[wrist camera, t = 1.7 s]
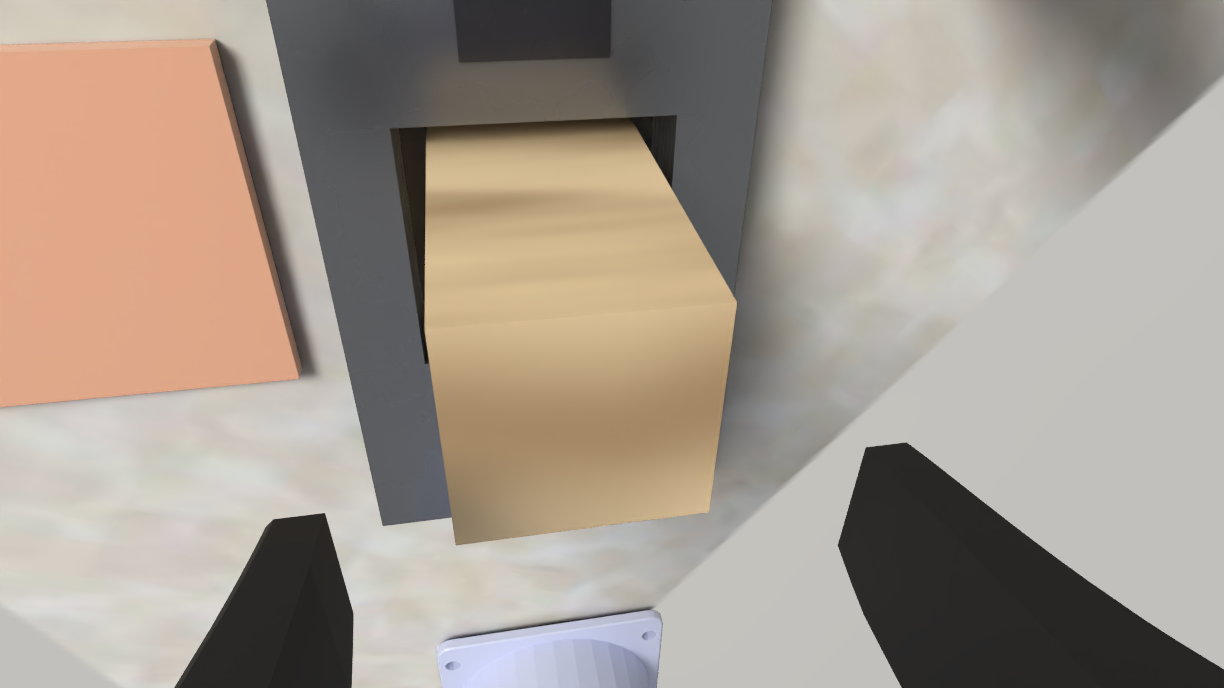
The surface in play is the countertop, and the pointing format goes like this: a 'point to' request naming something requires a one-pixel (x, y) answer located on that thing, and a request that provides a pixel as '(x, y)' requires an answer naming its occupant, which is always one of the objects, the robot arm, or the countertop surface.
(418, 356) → the square hole bar
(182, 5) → the countertop surface
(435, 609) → the countertop surface
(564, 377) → the wooden peg
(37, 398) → the tile
